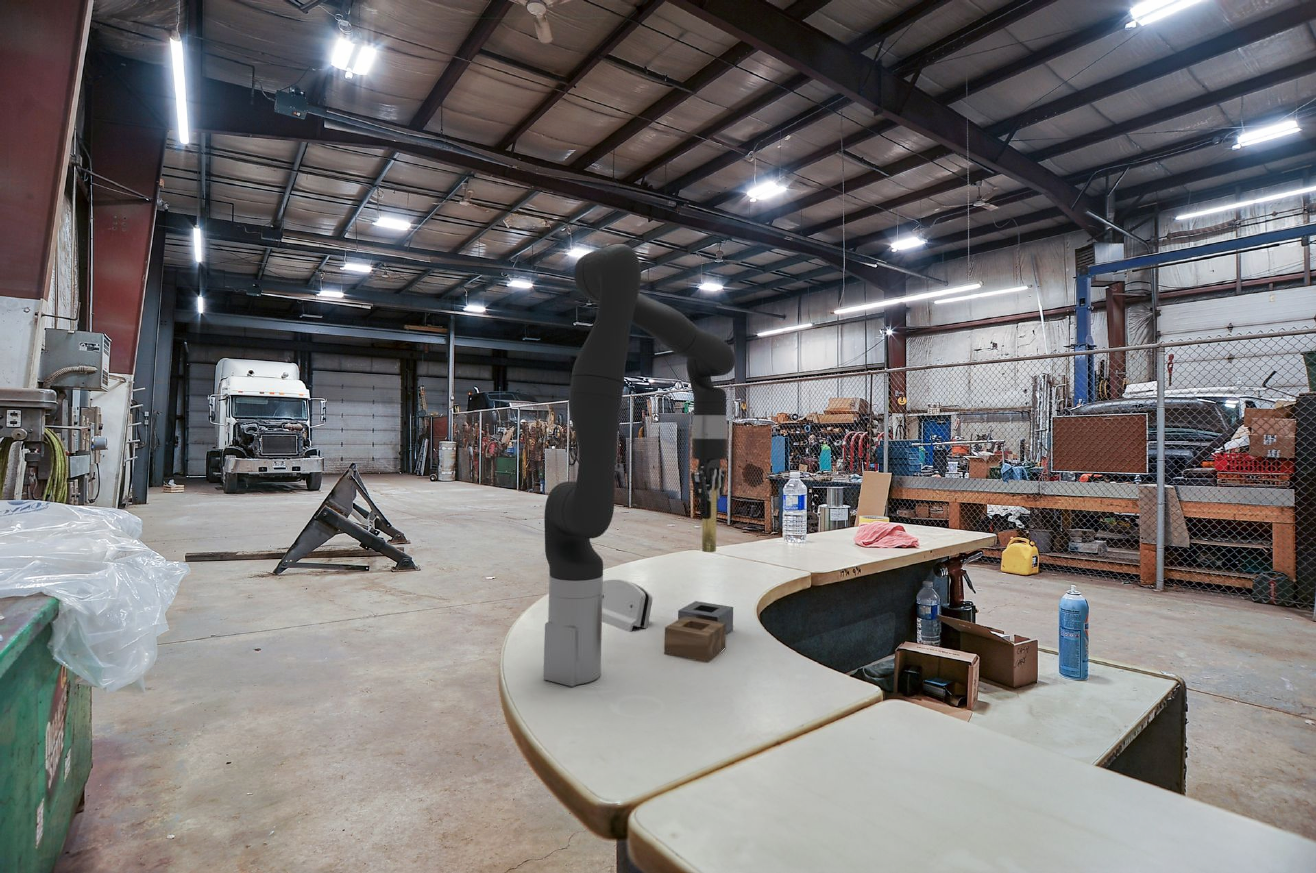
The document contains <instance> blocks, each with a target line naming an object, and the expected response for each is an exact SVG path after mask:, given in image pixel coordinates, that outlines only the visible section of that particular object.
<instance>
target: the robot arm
mask: <svg viewBox="0 0 1316 873" xmlns="http://www.w3.org/2000/svg"><path fill="white" fill-rule="evenodd" d="M573 277H574V279H573V280H574V282H575V285H576V287H577V289H578V291H579V293H581V294H582V296H584V297H585V298H586V299H587V300H589V301H591V302H592V303H594V304H596V305H598V307H597V313H596V317H595V320H594V324H593V326H592V328H591V330H590V332H589V334H588V336H587V337H586V340H585V341H584V344H583V345H582V347H581V349H580V351H579V353H578V355H577V357H576V360H575V362H574V364H573V366H572V372H571V378H570V379H571V380H570V387H569V394H568V395H569V396H568V410H569V416H570V420H571V423H572V427H573V430H574V433H575V437H576V441H577V446H578V465H577V466H578V467H577V474H576V480H575V481H563V482H560V483H558V484H557V485H555V486H554V487H553V488H552V489H551V490H550V492H549V494H548V496H547V498H546V502H545V506H544V517H543V518H544V519H543V520H544V524H543V525H544V552H545V553H544V554H545V557H546V560H547V564H548V566H549V568H548V570H549V582H548V616H547V618H548V619H547V622H546V623H545V624H544V641H543V643H544V646H543V647H544V648H543V649H544V650H543V680H545V681H550V682H554V683H556V684H561V685H565V686H568V687H575V686H577V685H582V684H586V683H590V682H594V681H596V680H597V679H598V678H599V677H601V674H602V673H601V669H602V632H603V631H602V627H603V626H602V623H603V622H602V593H603V581H604V561H603V558H602V557H601V556H600V555H599V554H598V553H597V552H596V550H595V549H594V547H593V546H592V544H591V543H592V542H591V539H597V538H599V537H600V536H602V535H603V534H604V533H606V531H607V530H608V529H609V527H610V526H611V523H612V519H613V516H614V511H615V499H616V498H615V496H616V495H615V494H616V493H615V492H616V456H617V455H616V454H617V444H618V443H617V442H618V433H619V423H620V413H621V408H622V401H623V393H624V384H625V371H626V363H627V358H628V356H627V355H628V349H629V342H630V336H631V328H632V325H633V324H634V326H637V327H638V328H640V329H641V330H643V331H644V332H646V333H647V334H649V335H650V336H652V337H653V338H654V339H656V340H657V341H658V342H660V343H661V344H662V345H664V346H665V347H666V348H667V349H669V350H670V351H671V352H672V353H674V354H676V356H679V357H681V358H686V360H685V362H686V364H685V365H686V371H687V375H688V378H689V384H690V387H691V391H692V395H693V418H692V427H691V429H692V430H691V433H692V436H691V437H692V438H691V440H692V442H691V456H692V459H693V460H698V462H697V463H698V464H697V469H696V470H697V471H692V472H691V474H690V475H691V481H692V488H693V493H694V498H695V499H698V501H699V504H700V512H699V513H700V514H699V515H700V519H701V520H702V519H710V518H711V497H712V490H717V494H716V518H717V517H718V514H719V513H718V512H719V508H718V506H719V502H718V500H720V499H721V498H720V497H721V496H722V497H723V495H724V489H725V482H726V478H727V470H726V469H722V465H721V460H726V459H728V420H727V410H728V409H727V407H728V406H727V393H726V391H725V390H724V389H723V388H721V387H715V386H714V384H713V382H712V377H720V376H721V377H722V376H726V375H728V374H729V373H730V372H732V370H733V369H734V367H735V365H736V356H735V352H734V350H733V348H732V347H731V346H730V345H729V344H728V342H726V341H725V340H723V339H722V338H719V337H718V336H715V335H714V334H712V333H710V332H709V331H706V330H703V329H701V328H699V327H698V326H697V325H695V323H693V322H692V321H691V320H690V319H689V318H687V316H685V315H684V314H683V313H681V312H680V311H678V310H677V309H675V308H673V307H671V306H669V305H667V304H665V303H662V302H660V301H657V300H654V299H652V298H650V297H648V296H646V295H644V294H642V293H640V287H641V280H642V268H641V262H640V259H639V256H638V255H637V253H636V251H635V250H634V249H633V248H632V247H631V246H630V245H628V244H624V243H616V244H612V245H608V246H605V247H602V248H598V249H596V250H593V251H590V252H588V253H586V254H584V255H582V256H581V257H580V258H579V259H578V260H577V262H576V264H575V265H574V270H573ZM707 490H708V493H707Z"/></svg>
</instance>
